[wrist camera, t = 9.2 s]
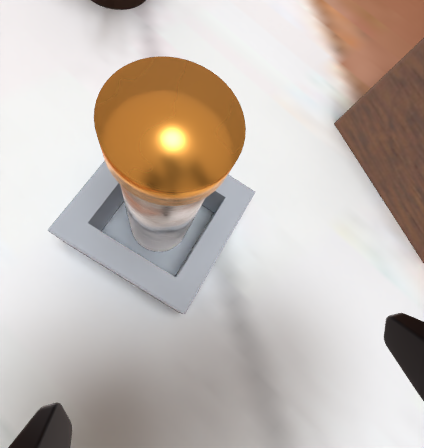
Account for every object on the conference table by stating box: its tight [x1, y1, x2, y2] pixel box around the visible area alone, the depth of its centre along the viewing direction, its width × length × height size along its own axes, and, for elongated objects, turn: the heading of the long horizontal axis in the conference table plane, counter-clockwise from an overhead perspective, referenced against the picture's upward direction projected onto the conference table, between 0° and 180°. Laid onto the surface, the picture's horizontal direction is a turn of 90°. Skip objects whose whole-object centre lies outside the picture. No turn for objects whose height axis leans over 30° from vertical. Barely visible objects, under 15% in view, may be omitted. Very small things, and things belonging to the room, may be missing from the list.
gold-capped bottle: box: [94, 57, 246, 252], centre depth 15 cm, size 5×5×13 cm
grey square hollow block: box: [48, 161, 255, 314], centre depth 20 cm, size 9×9×4 cm
